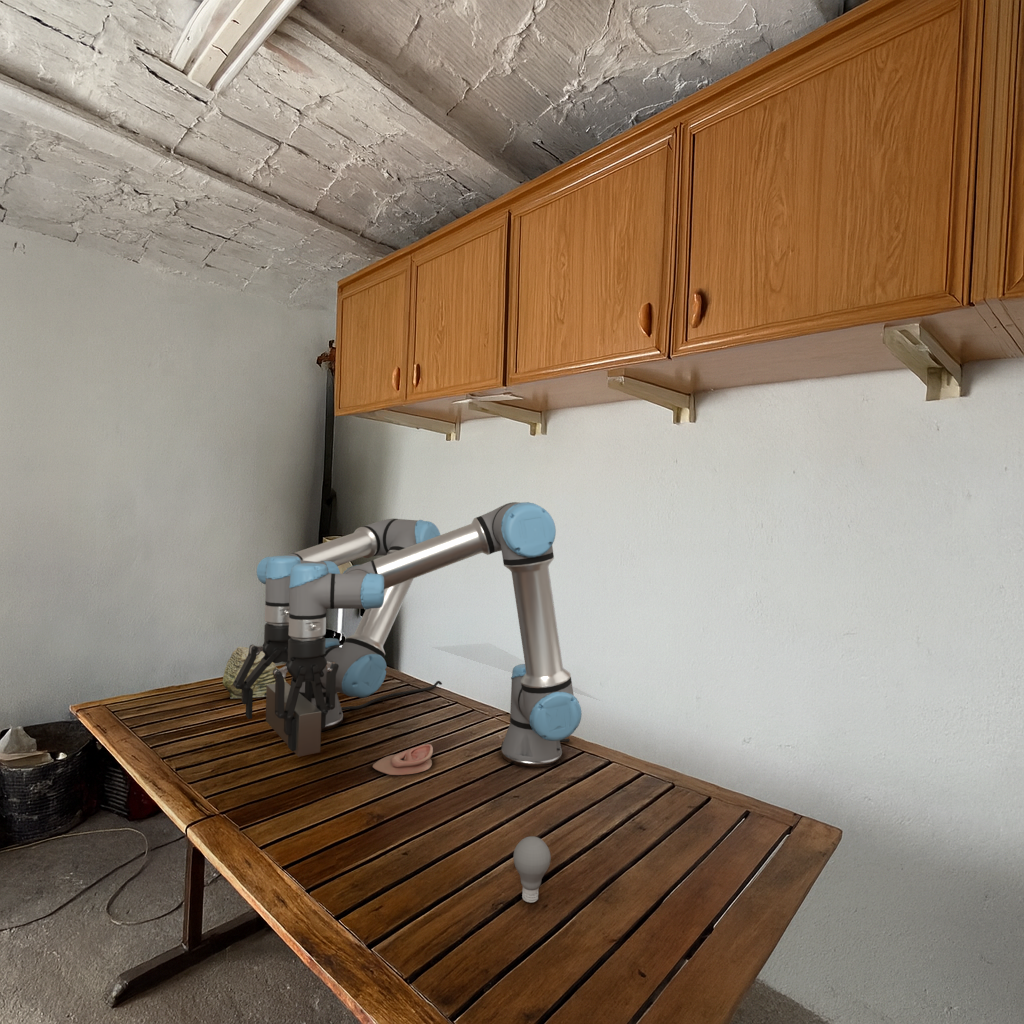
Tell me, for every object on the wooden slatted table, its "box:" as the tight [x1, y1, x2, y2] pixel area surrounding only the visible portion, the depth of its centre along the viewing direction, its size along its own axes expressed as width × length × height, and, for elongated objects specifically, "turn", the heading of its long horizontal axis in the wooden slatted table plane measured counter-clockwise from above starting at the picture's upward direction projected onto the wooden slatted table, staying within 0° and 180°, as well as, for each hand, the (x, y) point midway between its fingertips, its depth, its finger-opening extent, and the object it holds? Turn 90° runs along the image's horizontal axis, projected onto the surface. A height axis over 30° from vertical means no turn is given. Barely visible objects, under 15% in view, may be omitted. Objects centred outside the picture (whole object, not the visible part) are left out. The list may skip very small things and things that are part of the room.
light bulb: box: [512, 836, 552, 904], centre depth 102 cm, size 6×6×10 cm
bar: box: [265, 681, 322, 758], centre depth 141 cm, size 24×5×9 cm, turn 36°
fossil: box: [222, 646, 287, 699], centre depth 198 cm, size 9×18×15 cm, turn 132°
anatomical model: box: [372, 743, 434, 776], centre depth 151 cm, size 13×4×12 cm
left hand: (279, 712), depth 149 cm, fingers open, 13 cm apart
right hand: (304, 745), depth 134 cm, fingers closed on bar, 5 cm apart
